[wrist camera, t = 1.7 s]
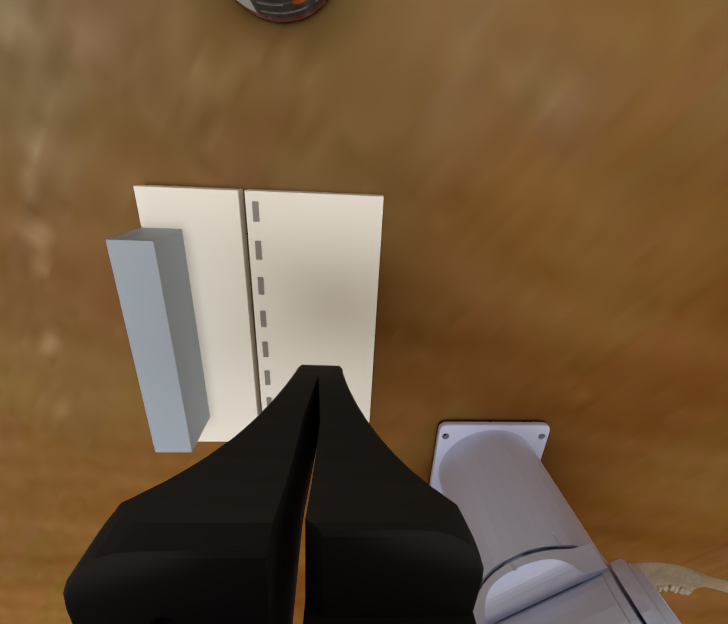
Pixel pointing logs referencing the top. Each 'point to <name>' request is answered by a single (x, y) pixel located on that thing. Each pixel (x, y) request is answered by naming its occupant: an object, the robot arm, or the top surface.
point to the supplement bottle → (282, 9)
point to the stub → (189, 313)
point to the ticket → (314, 284)
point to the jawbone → (679, 578)
